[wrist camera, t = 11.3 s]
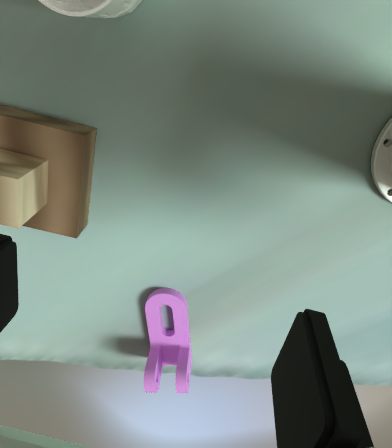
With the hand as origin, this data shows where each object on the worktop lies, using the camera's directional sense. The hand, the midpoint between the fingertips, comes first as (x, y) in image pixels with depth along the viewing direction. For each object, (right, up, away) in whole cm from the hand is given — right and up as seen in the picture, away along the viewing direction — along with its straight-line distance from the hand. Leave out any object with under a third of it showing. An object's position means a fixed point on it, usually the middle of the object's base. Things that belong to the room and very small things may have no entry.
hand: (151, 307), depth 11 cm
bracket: (-2, -11, +38) cm, 40 cm away
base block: (-16, +9, +29) cm, 35 cm away
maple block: (-17, +8, +26) cm, 32 cm away
